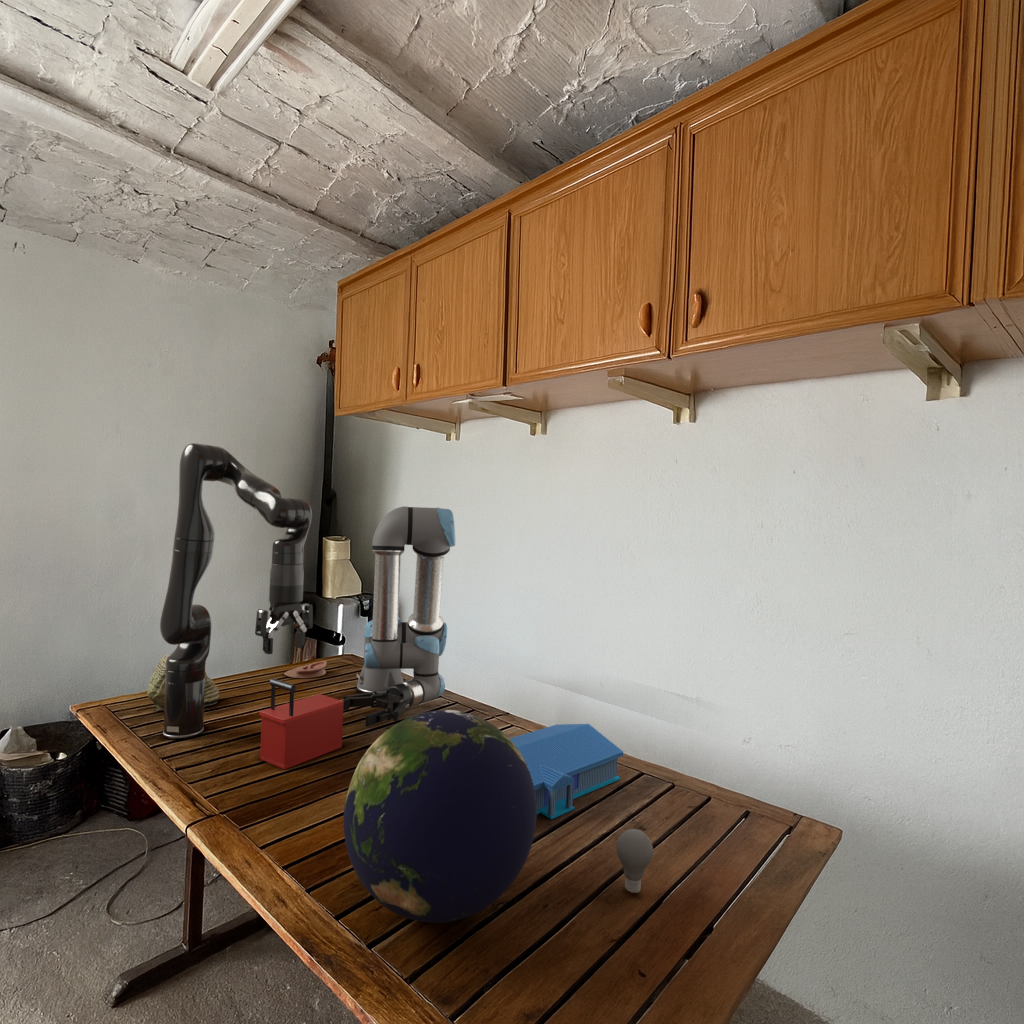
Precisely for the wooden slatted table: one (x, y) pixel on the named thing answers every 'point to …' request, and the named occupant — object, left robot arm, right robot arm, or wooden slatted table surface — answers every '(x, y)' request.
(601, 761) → the model building
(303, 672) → the anatomical model
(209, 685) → the fossil
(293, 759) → the chest
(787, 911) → the wooden slatted table surface
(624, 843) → the light bulb
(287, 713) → the lid
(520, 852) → the globe
